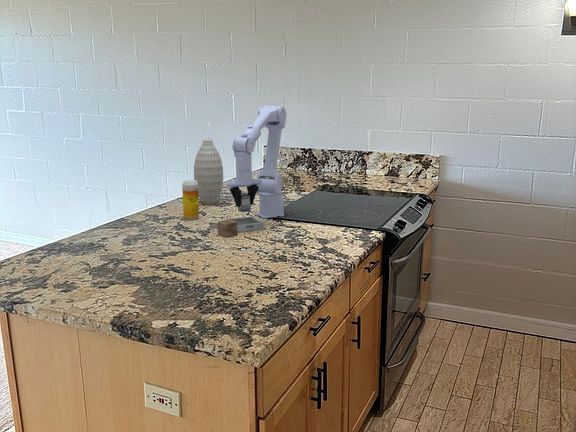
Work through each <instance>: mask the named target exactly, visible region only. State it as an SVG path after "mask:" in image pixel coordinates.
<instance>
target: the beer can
mask: <svg viewBox="0 0 576 432" xmlns="http://www.w3.org/2000/svg"><path fill="white" fill-rule="evenodd" d="M181 185H182V186H181V187H182V188H181V189H182V206H183V207H182V209H183V211H182V212H183V218H184V219H185V220H189V221H192V220H197V219H198V218H199V217H200V208H199V207H200V204H199V201H200V200H199V197H198V183H197V181H196V180H194V179H186V180H183V181H182V184H181Z"/></svg>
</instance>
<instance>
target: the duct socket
mask: <svg viewBox="0 0 576 432" xmlns="http://www.w3.org/2000/svg"><path fill="white" fill-rule="evenodd" d="M228 219H229V220H233V221H236V222H237V231H238V233H245V232H253V231H261V230H264V221H261V219H258V218H257V217H255V216H253V215H251V216H241V217H234V218H233V217H231V218H226V219H225V220H228Z"/></svg>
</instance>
